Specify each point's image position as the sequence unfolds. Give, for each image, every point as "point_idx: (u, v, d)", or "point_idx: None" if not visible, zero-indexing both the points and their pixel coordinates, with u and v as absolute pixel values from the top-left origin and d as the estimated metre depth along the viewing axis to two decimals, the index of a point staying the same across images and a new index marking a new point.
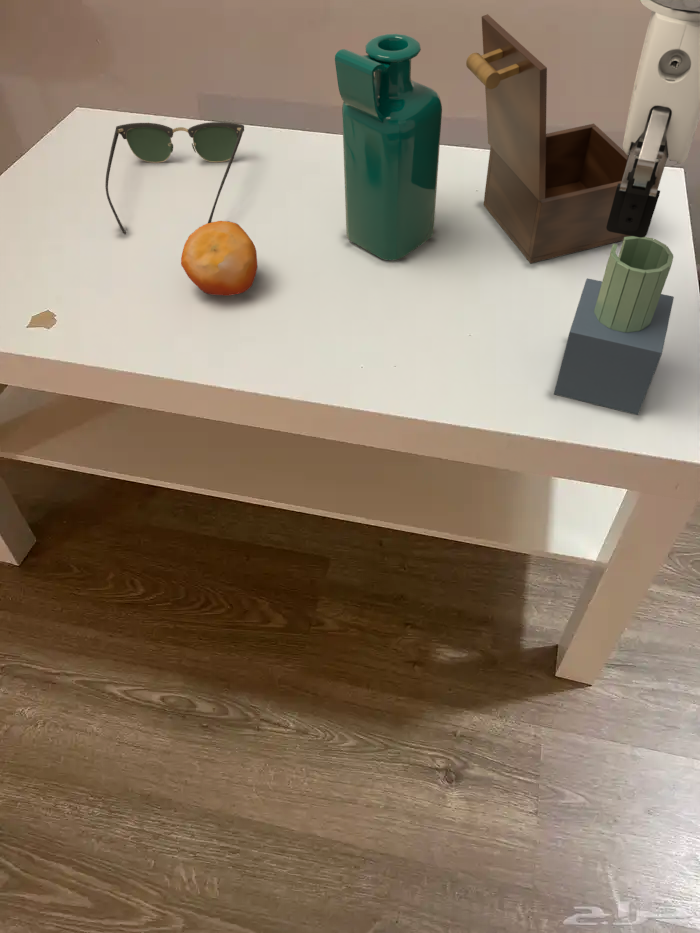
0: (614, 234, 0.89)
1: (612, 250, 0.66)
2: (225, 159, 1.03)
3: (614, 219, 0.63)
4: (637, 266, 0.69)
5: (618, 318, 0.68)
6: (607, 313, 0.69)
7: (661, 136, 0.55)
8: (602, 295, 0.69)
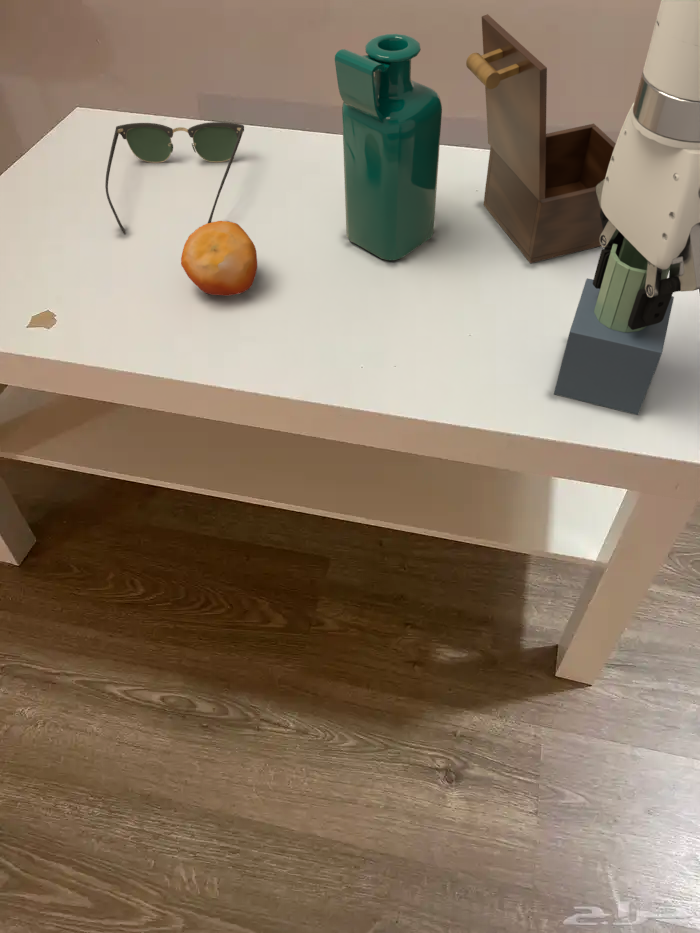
0: None
1: (612, 250, 0.66)
2: (225, 159, 1.03)
3: (638, 319, 0.67)
4: (637, 266, 0.69)
5: (618, 318, 0.68)
6: (607, 313, 0.69)
7: None
8: (602, 295, 0.69)
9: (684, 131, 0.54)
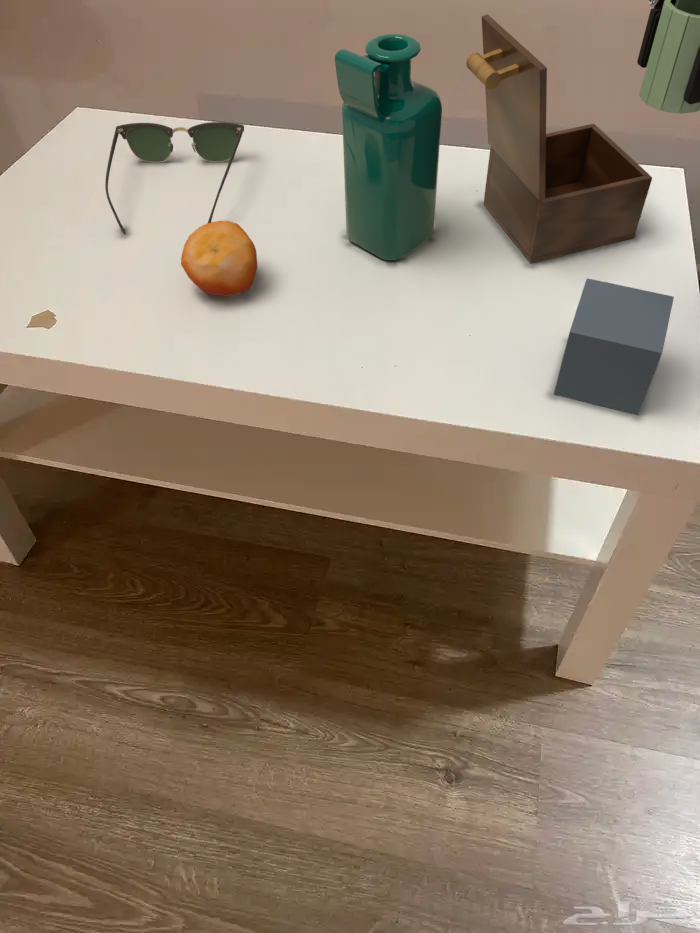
0: (614, 234, 0.89)
1: (666, 0, 0.54)
2: (225, 159, 1.03)
3: (697, 87, 0.55)
4: None
5: (671, 93, 0.56)
6: (657, 89, 0.57)
7: None
8: (651, 66, 0.57)
9: None
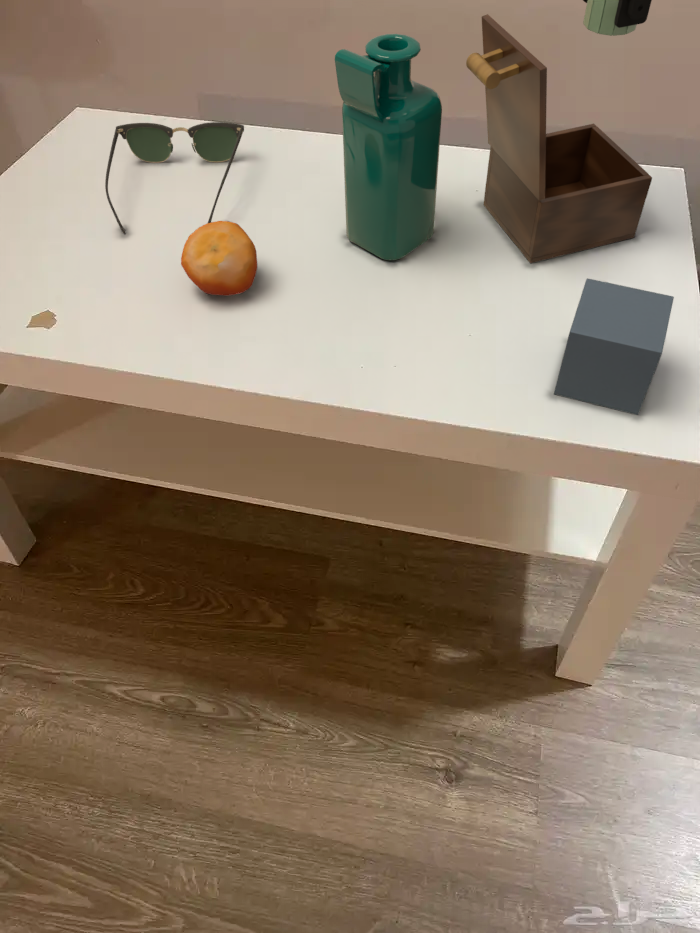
0: (614, 234, 0.89)
1: None
2: (225, 159, 1.03)
3: (623, 14, 0.73)
4: None
5: (605, 19, 0.74)
6: (595, 16, 0.75)
7: None
8: None
9: None
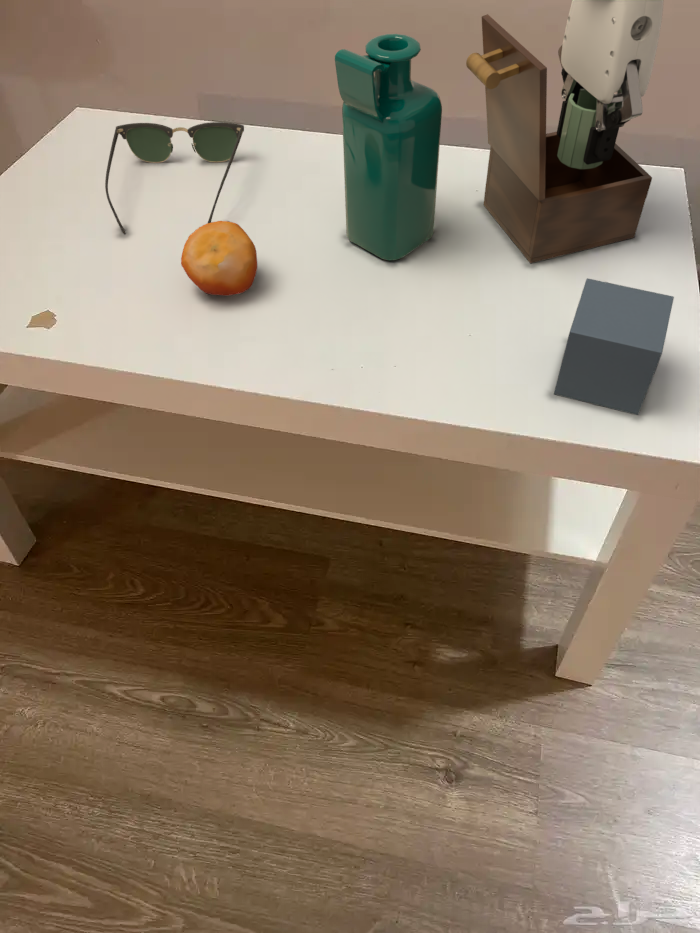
0: (614, 234, 0.89)
1: (570, 97, 0.83)
2: (225, 159, 1.03)
3: (591, 154, 0.84)
4: None
5: (575, 156, 0.85)
6: (567, 153, 0.86)
7: (639, 89, 0.76)
8: (562, 138, 0.85)
9: None
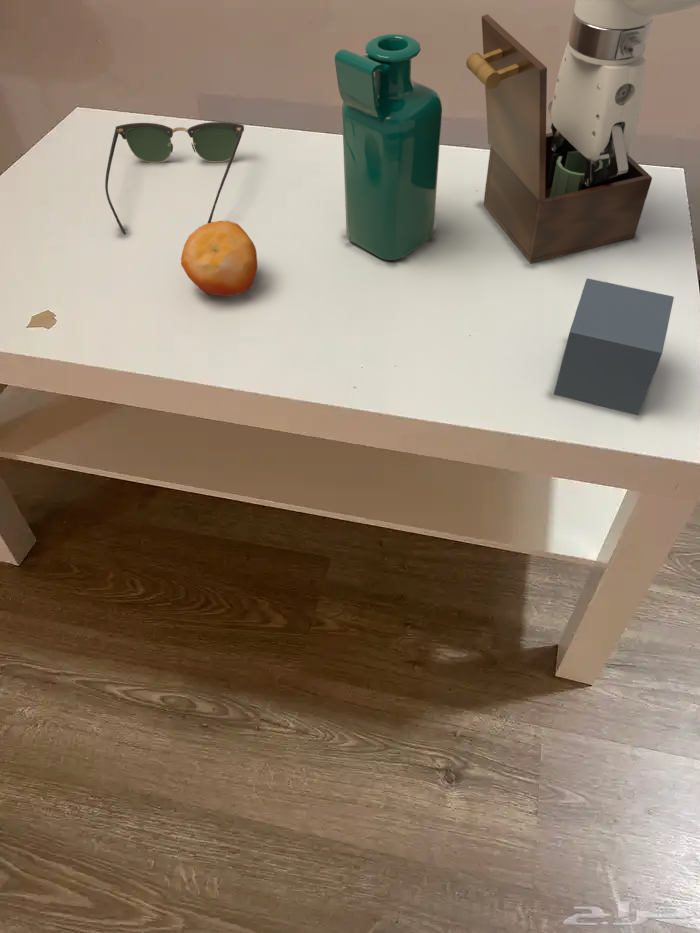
0: (614, 234, 0.89)
1: (558, 160, 0.88)
2: (225, 159, 1.03)
3: None
4: None
5: None
6: None
7: (624, 148, 0.81)
8: None
9: (602, 51, 0.75)
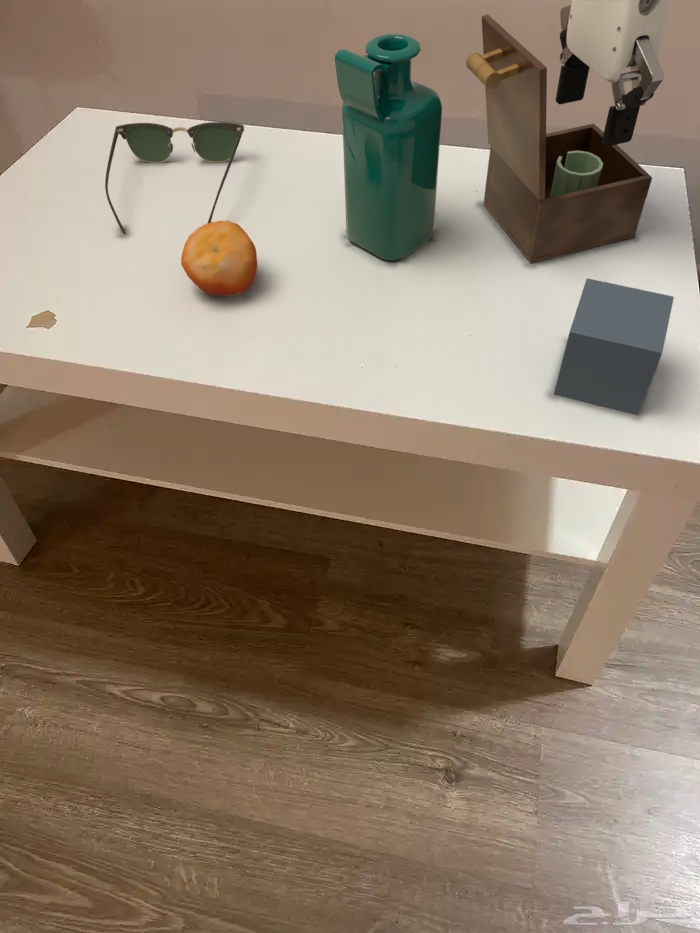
0: (614, 234, 0.89)
1: (558, 160, 0.88)
2: (225, 159, 1.03)
3: (610, 135, 0.80)
4: None
5: None
6: None
7: (654, 56, 0.73)
8: None
9: None
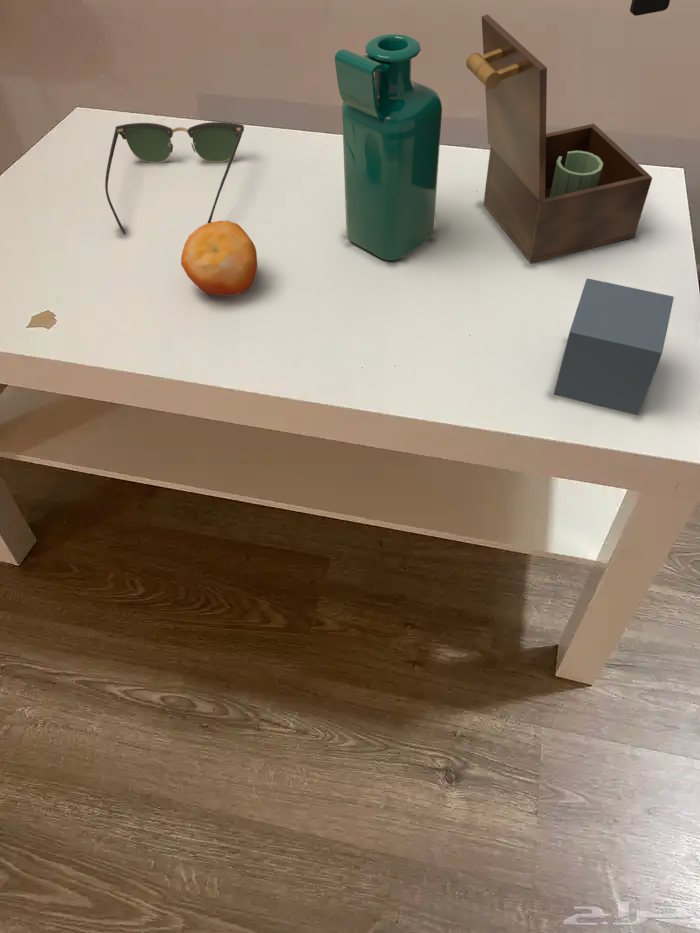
0: (614, 234, 0.89)
1: (558, 160, 0.88)
2: (225, 159, 1.03)
3: None
4: None
5: None
6: None
7: None
8: None
9: None
